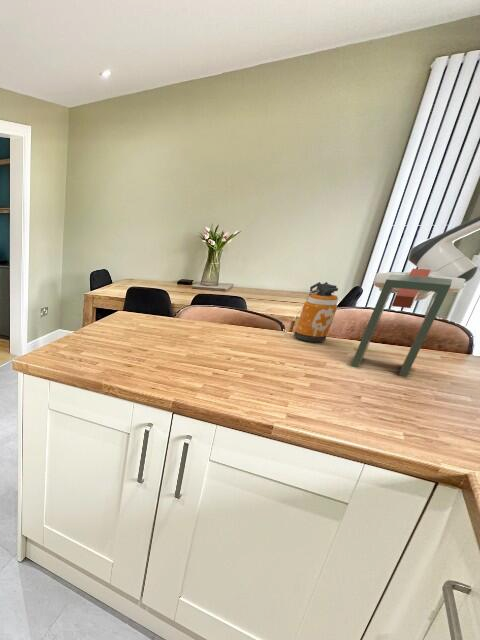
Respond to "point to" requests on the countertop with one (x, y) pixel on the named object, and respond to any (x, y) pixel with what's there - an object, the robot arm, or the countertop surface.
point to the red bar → (409, 291)
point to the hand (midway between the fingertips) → (416, 278)
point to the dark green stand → (427, 285)
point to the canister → (317, 313)
